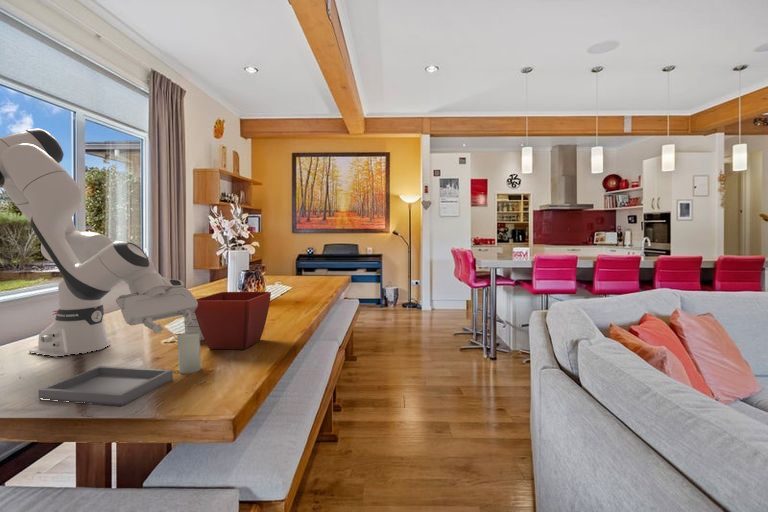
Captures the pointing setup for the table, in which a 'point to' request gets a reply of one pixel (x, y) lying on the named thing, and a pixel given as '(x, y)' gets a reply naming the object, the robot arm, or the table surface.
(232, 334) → the plant pot
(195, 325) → the supplement box
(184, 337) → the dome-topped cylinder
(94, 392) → the grey tray
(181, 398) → the table surface
